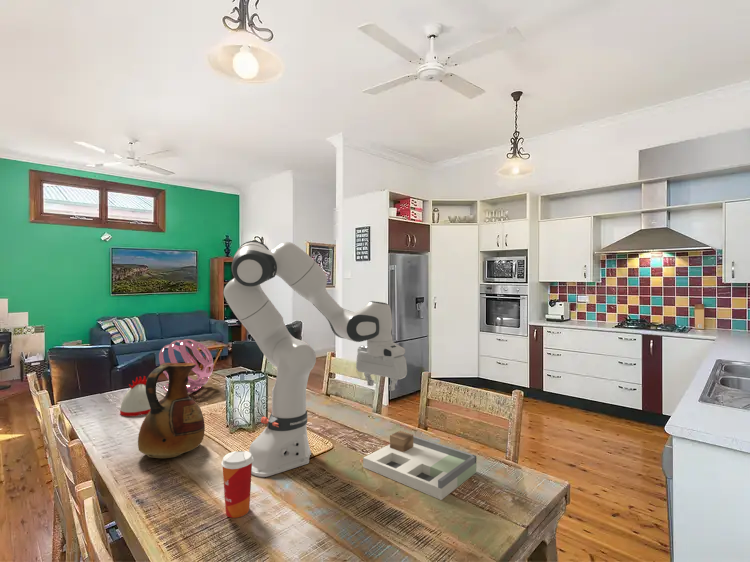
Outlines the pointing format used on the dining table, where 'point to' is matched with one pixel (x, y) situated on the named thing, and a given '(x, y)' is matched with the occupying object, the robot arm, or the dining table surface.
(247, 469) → the paper cup
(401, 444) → the walnut block
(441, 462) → the tray
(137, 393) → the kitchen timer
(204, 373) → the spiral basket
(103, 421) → the dining table surface
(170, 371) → the ceramic pitcher
